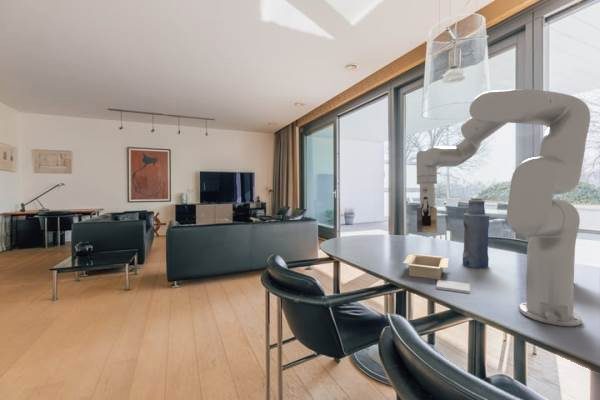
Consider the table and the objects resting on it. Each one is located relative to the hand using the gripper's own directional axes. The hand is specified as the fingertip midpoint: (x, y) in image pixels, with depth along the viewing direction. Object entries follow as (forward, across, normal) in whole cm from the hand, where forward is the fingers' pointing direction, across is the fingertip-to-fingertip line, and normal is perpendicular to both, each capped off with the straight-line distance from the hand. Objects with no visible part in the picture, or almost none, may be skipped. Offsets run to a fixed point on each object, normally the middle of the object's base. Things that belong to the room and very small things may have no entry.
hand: (427, 224), depth 116 cm
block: (+3, 0, 0) cm, 3 cm away
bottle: (+20, +20, -18) cm, 34 cm away
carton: (+20, 0, 0) cm, 20 cm away
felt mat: (+20, -15, -10) cm, 27 cm away
